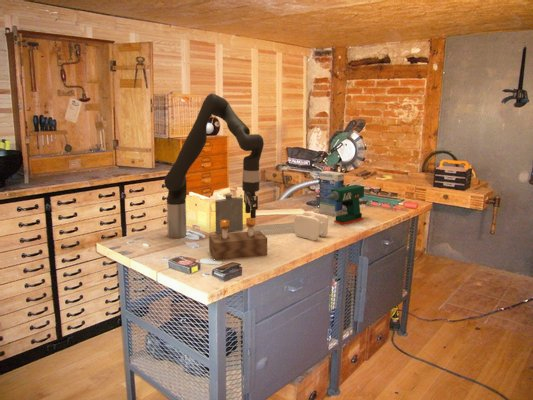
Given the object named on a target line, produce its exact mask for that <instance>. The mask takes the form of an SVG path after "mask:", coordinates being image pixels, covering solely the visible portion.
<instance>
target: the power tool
mask: <svg viewBox="0 0 533 400" xmlns="http://www.w3.org/2000/svg"><path fill="white" fill-rule="evenodd" d="M364 197H365V186H364V185H360V184H352V185H347V186H344V187H340V188H335V189H331V193H330V194H329V196H327V197H325V198H326V199H330V200H331V201H335V202H339V203H340V202H342V205H343V207H344V206H345V208H346V213H342V215H338V216H336V217H335V219H334V220H333V223H334V224H338V225H341V226H345V225H348V224H352V223H355V222H359V221H363V220H364V218H363V216H362V215H363V213H362V212H361V206H360V199H362V198H364Z"/></svg>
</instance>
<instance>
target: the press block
mask: <svg viewBox="0 0 533 400" xmlns="http://www.w3.org/2000/svg"><path fill="white" fill-rule="evenodd" d="M208 244H209V247H208V248H209V253H210V255H211V256H212V258H213V260H214V259H215V260H216V261H223V260H233V259H242V258H243V259H244V258H252V257H253V258H254V257H263V256H268V237H267V235H264V234H262V233H261V232H260V231H253V236H251V237H248V232H247V231H241V232H240V231H236V232H228V239H222V234H216V233H215V234H208ZM215 260H214V261H215Z"/></svg>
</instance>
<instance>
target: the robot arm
mask: <svg viewBox="0 0 533 400" xmlns="http://www.w3.org/2000/svg"><path fill="white" fill-rule="evenodd" d="M212 116H214V117H217V118H220V119H221V120H223V121H224V122H225V123H226V126H227V129H228V130H229V132H230V133H231V134H232V135H233V137H235V139H236V141H237V143H238V145H239V148H240V149H241V150H243V151H245V152H250V154H248V155H247V156H244V157H243V160H242V164H243V165H242V179H241V181H242V185H241V187H242V191H243V204H244V205H245V208H244V209H245V210H244V212H245V213H246V214H250V217H249V218H255V219H256V218H257V217H256V216H257V210H258V209H259V207H258V206H259V205H258V204H259V203H258V202H259V196H258V195H257V194H256V192H259V191H260V179H261V178H260V159H261V156H262V153H263V149H264V143H265V142H264V139H263V136H262V135H260V134H257V133H253V134H250V133H251V131H250V128H249V127H248V126H247V125H246V124H245V122H243V120H241V118H240V117H239V116H238V115H237V114H236V112H235V111H234V110H233V108H232V107H231V105H230V103H229V102H228V101H227V99H226V98H225V97H222V96H219V95H217V94H216V93H210V94H208V95H206V97H205V98H204V100H203V102H202V105H201V107H200V110H199V111H198V114H197V117H196V119H195V122H194V123H193V125H192V128H191V129H190V131H189V133H188V134H187V136H186V139H185V141H184V142H183V144H182V147H181V148H180V151H179V153H178V156H177V158H176V160H175V161H174V163H173V165H172V167H170V169H169V171H168V172H167V174H166V175H165V178H164V182H163V183H164V186H165V188H166V189H167V191H168V194H167V196H166V207H167V208H166V212H167V213H166V215H167V217H166V221H167V222H166V223H167V225H166V226H167V228H166V229H167V236H168V238H169V239H171V238H172V239H181V238H184V237H186V236H187V235H186V233H188V231H187V207H186V206H187V205H186V204H187V203H186V202H187V201H186V199H187V178H186V177H187V176H186V175H187V173H188V172H189V169H190V168H191V166H192V165H193V164H194V163H195V162H196V160H197V159H198V158H199V156H200V155H201V153H202V151H203V149H204V148H205V146H206V143H207V136H208V135H207V127H208V123H209V120H210V118H211V117H212Z"/></svg>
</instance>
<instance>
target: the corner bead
mask: <svg viewBox="0 0 533 400" xmlns="http://www.w3.org/2000/svg"><path fill="white" fill-rule="evenodd" d="M294 226H295V222H285V223H271V224H257V225H255V226H253V231H260V232H261V233H262V234H264V235H265V236H272V235H273V236H274V235H283V234H294ZM246 232H248V230H247V231H246Z"/></svg>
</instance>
